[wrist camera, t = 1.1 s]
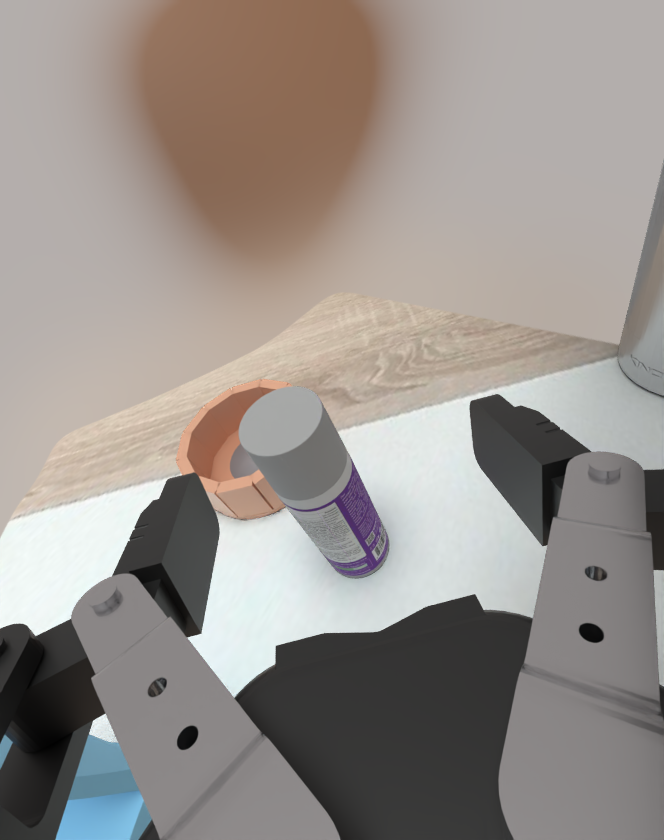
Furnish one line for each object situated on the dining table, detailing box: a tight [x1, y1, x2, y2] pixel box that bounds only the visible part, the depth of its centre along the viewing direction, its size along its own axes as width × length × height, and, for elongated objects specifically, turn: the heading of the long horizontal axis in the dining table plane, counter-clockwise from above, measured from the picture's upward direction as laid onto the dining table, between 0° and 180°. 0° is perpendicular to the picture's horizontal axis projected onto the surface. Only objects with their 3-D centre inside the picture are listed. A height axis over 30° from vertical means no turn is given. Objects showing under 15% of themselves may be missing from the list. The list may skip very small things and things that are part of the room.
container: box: [239, 386, 389, 578], centre depth 26 cm, size 5×5×15 cm
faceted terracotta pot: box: [176, 379, 292, 519], centre depth 38 cm, size 12×12×5 cm
